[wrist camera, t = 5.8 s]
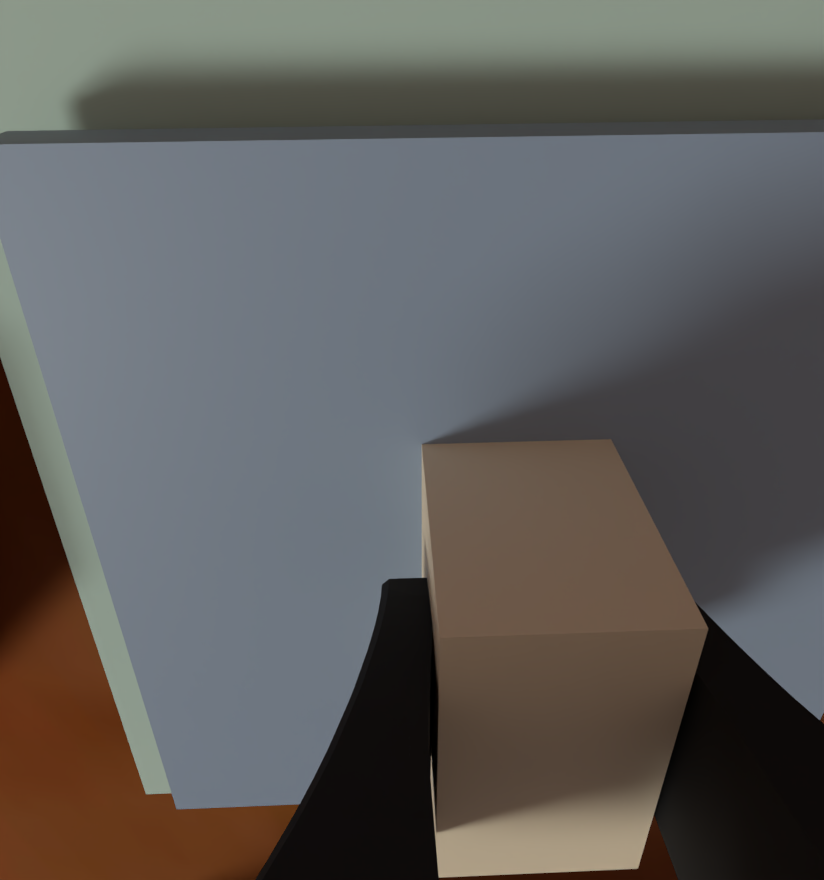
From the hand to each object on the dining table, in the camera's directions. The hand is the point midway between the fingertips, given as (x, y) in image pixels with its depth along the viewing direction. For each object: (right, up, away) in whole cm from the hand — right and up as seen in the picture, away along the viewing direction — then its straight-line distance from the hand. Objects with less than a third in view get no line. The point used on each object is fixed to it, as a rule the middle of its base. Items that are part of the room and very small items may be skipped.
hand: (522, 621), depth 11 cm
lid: (0, +1, +2) cm, 3 cm away
